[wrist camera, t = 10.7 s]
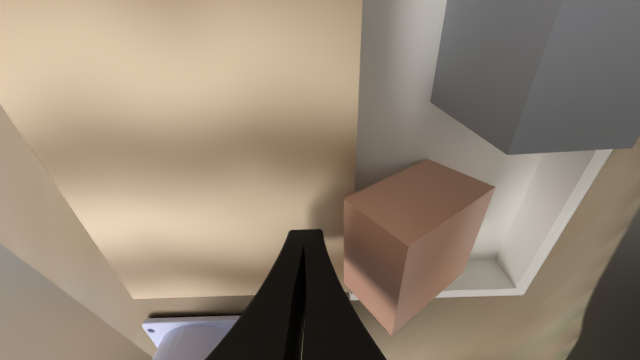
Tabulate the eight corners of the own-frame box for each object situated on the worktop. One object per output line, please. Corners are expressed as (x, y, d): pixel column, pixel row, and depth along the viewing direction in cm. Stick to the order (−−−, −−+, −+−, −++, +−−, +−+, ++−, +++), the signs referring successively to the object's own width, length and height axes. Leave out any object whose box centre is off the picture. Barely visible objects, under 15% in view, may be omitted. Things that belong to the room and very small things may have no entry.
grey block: (430, 101, 11) (503, 97, 10) (506, 155, 6) (632, 147, 6) (456, -60, 8) (555, -68, 8) (619, -158, 4) (836, -177, 4)
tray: (496, 259, 16) (523, 294, 14) (345, 264, 16) (350, 300, 14) (691, -155, 7) (845, -229, 5) (356, -140, 7) (371, -206, 5)
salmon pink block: (412, 237, 15) (463, 272, 12) (343, 282, 12) (391, 335, 10) (427, 158, 12) (495, 186, 10) (343, 198, 10) (408, 246, 7)
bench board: (346, 257, 16) (350, 291, 14) (156, 264, 16) (133, 298, 14) (355, -109, 8) (369, -157, 6) (-36, -91, 8) (-161, -131, 6)
